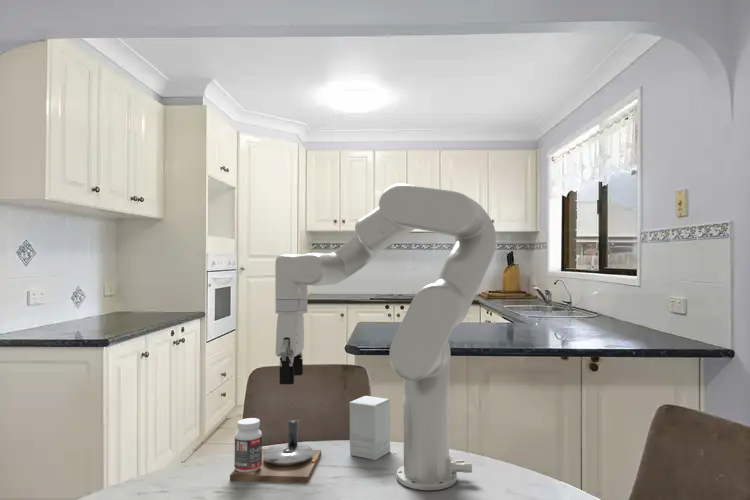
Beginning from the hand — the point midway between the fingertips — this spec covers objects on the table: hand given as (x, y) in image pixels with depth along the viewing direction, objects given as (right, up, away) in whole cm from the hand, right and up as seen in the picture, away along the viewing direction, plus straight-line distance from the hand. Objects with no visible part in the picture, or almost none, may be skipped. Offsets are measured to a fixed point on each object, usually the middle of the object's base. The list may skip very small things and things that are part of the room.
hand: (291, 379), depth 119 cm
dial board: (-2, -18, -7) cm, 19 cm away
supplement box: (+18, -18, +2) cm, 26 cm away
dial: (0, -16, -5) cm, 17 cm away
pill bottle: (-8, -16, -11) cm, 21 cm away
